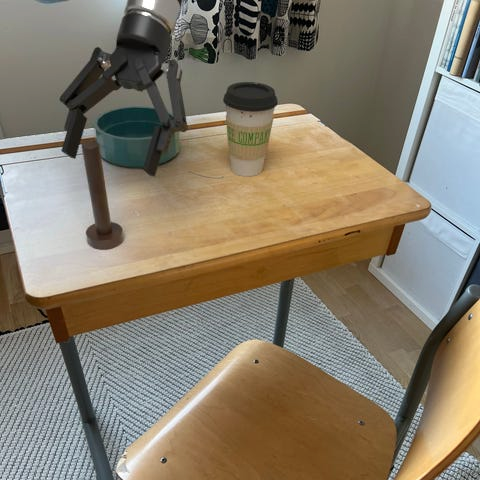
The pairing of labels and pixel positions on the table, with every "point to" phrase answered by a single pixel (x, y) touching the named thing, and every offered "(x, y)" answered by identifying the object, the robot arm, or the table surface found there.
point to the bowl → (130, 135)
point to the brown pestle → (99, 202)
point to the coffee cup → (249, 125)
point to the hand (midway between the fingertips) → (107, 164)
